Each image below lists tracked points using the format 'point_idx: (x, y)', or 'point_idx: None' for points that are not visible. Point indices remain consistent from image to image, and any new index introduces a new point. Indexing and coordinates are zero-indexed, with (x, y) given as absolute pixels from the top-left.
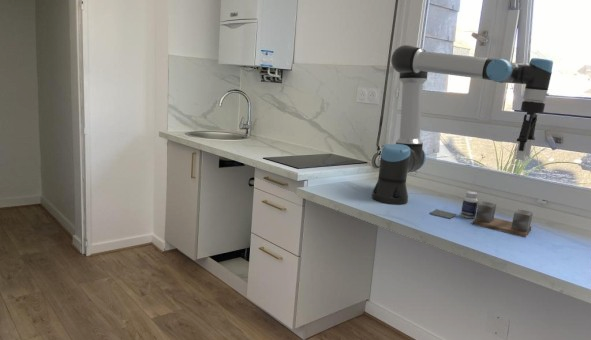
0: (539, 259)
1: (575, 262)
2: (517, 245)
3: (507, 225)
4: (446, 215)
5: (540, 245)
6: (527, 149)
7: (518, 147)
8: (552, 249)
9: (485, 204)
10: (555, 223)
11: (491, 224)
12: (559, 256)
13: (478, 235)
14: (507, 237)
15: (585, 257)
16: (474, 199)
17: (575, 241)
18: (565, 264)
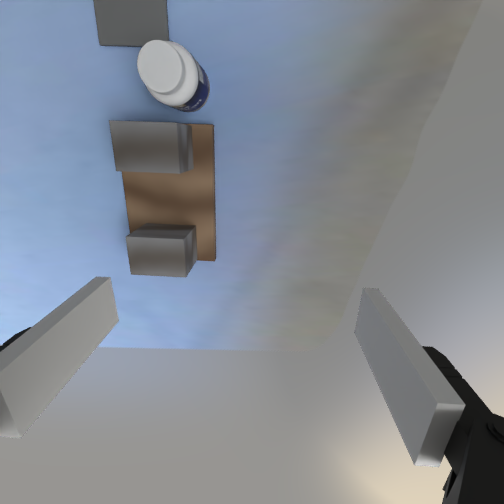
0: (21, 287)
1: None
2: (60, 246)
3: (164, 211)
4: (118, 22)
5: None
6: (375, 354)
7: (30, 336)
8: None
9: (135, 143)
10: (332, 300)
11: (132, 174)
12: None
13: (38, 161)
14: (95, 221)
15: (117, 347)
16: (155, 92)
17: (207, 335)
18: None
